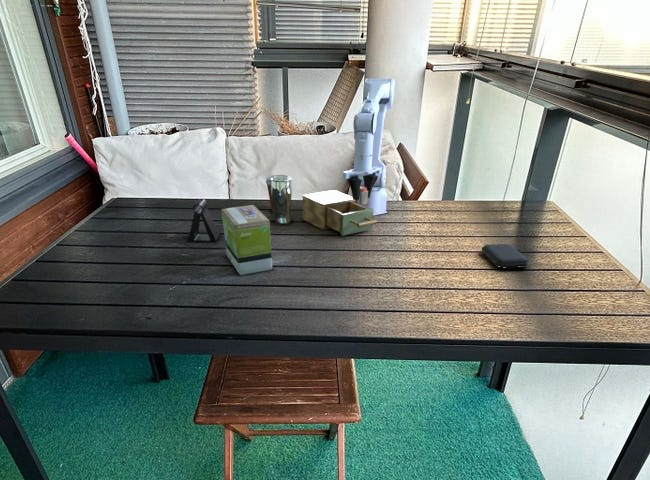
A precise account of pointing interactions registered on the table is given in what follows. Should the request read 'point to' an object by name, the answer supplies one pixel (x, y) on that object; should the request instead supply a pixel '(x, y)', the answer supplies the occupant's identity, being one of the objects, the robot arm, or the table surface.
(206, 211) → the phone stand
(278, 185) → the beer glass
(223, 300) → the table surface
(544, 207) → the table surface
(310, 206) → the cabinet
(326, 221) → the drawer
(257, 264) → the tea box
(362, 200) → the small jar with lid
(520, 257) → the carrying case
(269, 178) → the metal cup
